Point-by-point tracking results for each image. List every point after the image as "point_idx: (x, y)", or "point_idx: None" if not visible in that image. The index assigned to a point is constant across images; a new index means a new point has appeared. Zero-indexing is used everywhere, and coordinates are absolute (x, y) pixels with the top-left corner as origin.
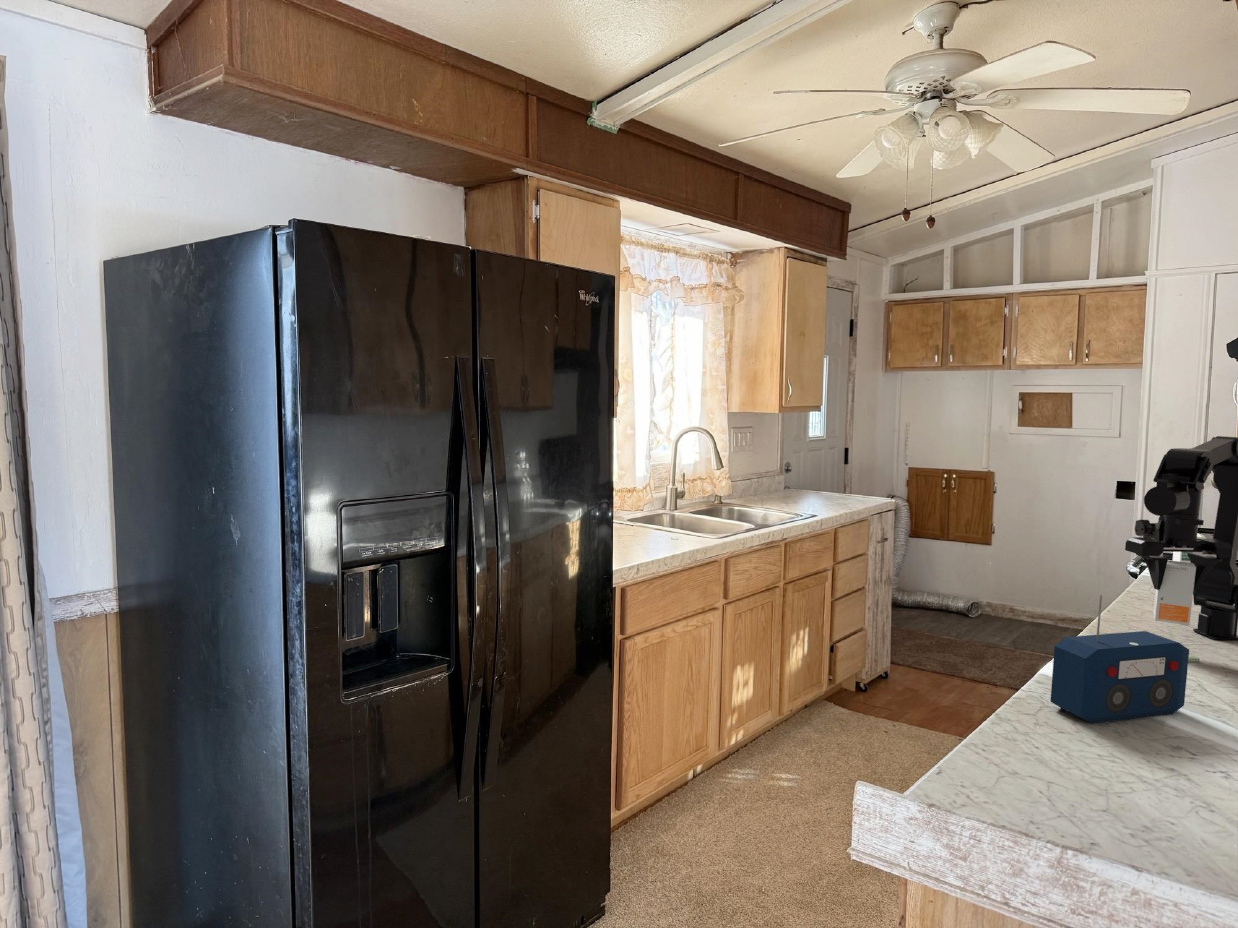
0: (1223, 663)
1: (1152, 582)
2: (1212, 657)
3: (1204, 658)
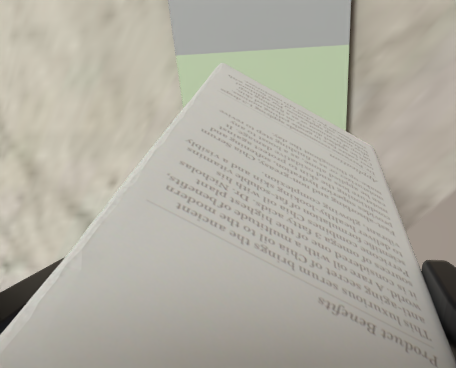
0: (422, 199)
1: (34, 275)
2: (443, 135)
3: (395, 147)
